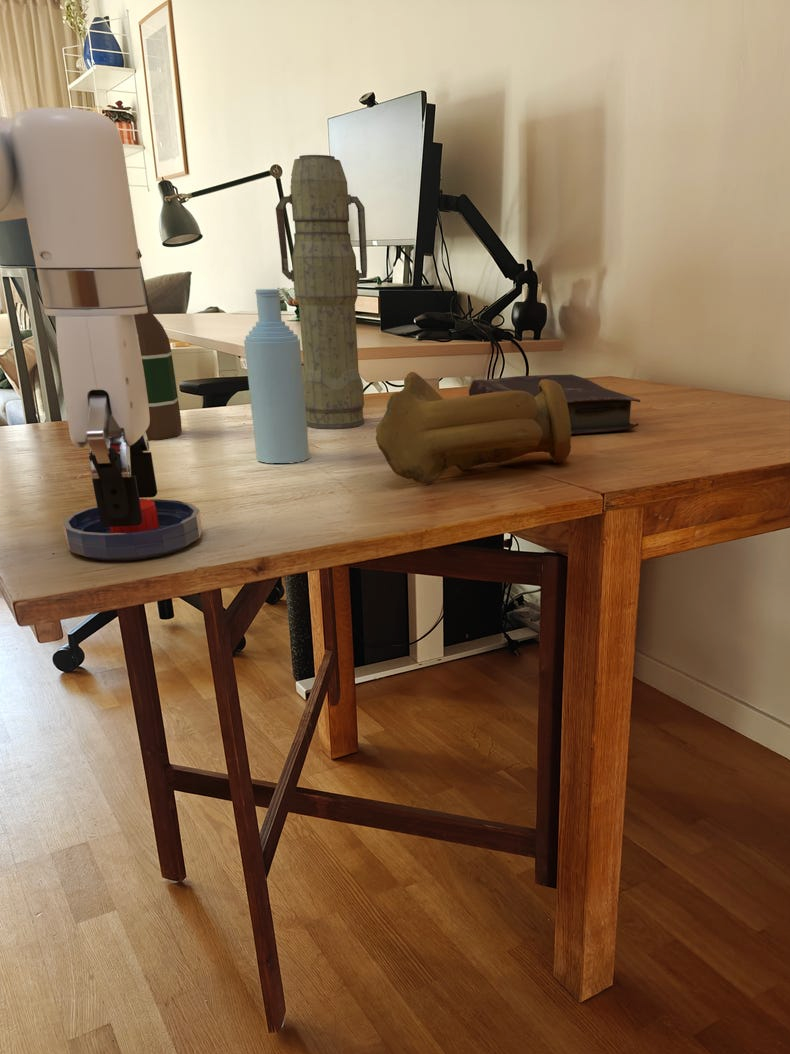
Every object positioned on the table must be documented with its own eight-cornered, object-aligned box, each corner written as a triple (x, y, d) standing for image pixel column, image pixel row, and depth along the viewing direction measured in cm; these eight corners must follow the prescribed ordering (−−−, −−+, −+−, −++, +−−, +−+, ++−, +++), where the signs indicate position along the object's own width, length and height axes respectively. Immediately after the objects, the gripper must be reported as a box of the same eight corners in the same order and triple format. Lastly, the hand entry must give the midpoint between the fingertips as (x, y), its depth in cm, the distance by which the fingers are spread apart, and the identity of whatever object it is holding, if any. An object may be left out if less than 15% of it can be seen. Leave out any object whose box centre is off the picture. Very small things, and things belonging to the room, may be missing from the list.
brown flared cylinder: (373, 393, 107) (547, 360, 107) (394, 497, 108) (565, 464, 109) (360, 362, 88) (570, 322, 89) (385, 488, 90) (591, 448, 90)
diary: (520, 439, 118) (520, 401, 116) (468, 410, 140) (468, 378, 138) (643, 431, 123) (646, 395, 121) (574, 404, 145) (576, 373, 143)
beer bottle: (189, 437, 119) (162, 247, 110) (130, 442, 116) (97, 246, 106) (177, 428, 126) (150, 247, 116) (120, 433, 122) (88, 247, 112)
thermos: (291, 420, 131) (268, 158, 117) (368, 416, 134) (355, 161, 120) (297, 430, 124) (273, 151, 109) (378, 426, 127) (365, 154, 112)
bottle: (267, 466, 103) (249, 291, 95) (249, 456, 108) (231, 289, 100) (317, 460, 106) (303, 289, 98) (298, 451, 111) (284, 288, 103)
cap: (167, 531, 77) (162, 498, 76) (149, 545, 74) (144, 511, 72) (124, 531, 77) (118, 498, 76) (104, 544, 74) (98, 510, 73)
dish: (80, 572, 69) (74, 542, 68) (59, 537, 77) (54, 510, 76) (217, 549, 74) (213, 521, 73) (183, 519, 83) (180, 493, 82)
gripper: (68, 290, 74) (104, 488, 82) (10, 300, 59) (61, 543, 66) (159, 289, 76) (186, 484, 83) (126, 299, 60) (164, 537, 67)
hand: (131, 509), depth 75 cm, fingers open, 8 cm apart
